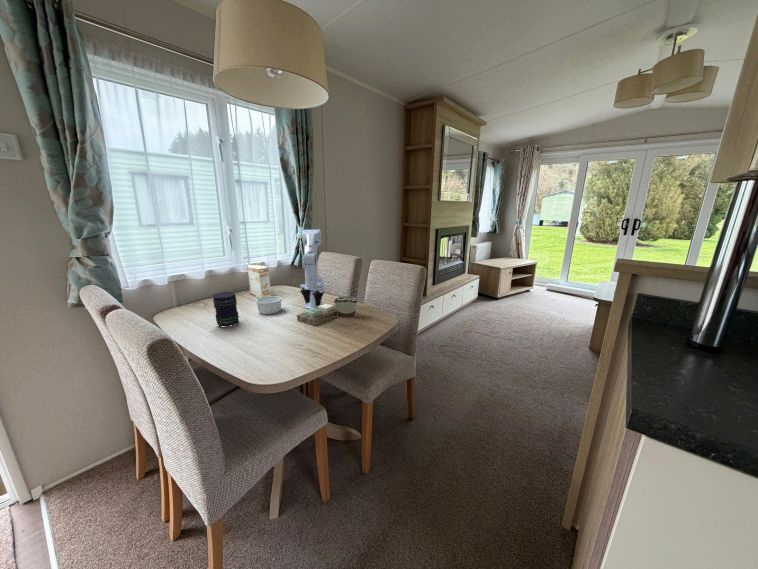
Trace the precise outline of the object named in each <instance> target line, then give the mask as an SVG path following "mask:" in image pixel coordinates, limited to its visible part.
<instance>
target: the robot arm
mask: <svg viewBox="0 0 758 569" xmlns="http://www.w3.org/2000/svg"><path fill="white" fill-rule="evenodd" d="M301 232H302V233H301V234H302V240H303V244H304V246H305V247H304V254H302V262H303V263H302V264H303V269H304V279H305V280H304V283H305V284H300V286H299V287H300V290H299V291H300V293H301V294H302V297H303V299H304V307H303V308H306V309H308V310H309V309H312V308H318V306H320V305H323V302H322V301H323V299H322V298H323V296H324V294H325V291H324V289H325V288H324V279H323V277H322V276H320V275H319V273H318V272H319V268H318V247H319V246H321V244H322V231H321V229H320V228H318V229H302V231H301Z"/></svg>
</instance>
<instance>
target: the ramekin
mask: <svg viewBox="0 0 758 569" xmlns="http://www.w3.org/2000/svg"><path fill="white" fill-rule="evenodd" d="M282 302H283V301H282V297H281V296H279V295H277V296H276V295H271V296H266V297H261V298H257V299H256V300H255V303H256V306H257V310H258V313H260V314H261V313H262V315H273V314H272V313H274V314H277V313H279V312H280V311H281V310H282ZM276 312H277V313H276Z"/></svg>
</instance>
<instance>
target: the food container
mask: <svg viewBox="0 0 758 569" xmlns="http://www.w3.org/2000/svg"><path fill="white" fill-rule="evenodd" d="M333 303H335V305H334V306H335V307H336V312H337V316H336V318H341V319H342V318H344V319H356V313H357V312H356V311H357V304H358V299H357V298H356V297H355V296H349V295H344V296H339V297H336V298H334V300H333Z"/></svg>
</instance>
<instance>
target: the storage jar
mask: <svg viewBox="0 0 758 569" xmlns="http://www.w3.org/2000/svg"><path fill="white" fill-rule="evenodd" d="M236 297H237V296H236V293H235V292H234V291H225V292H218V293H214V294H213V295H212V298H213V307H214V308H215V309H214V310H215V321H216V323H217V324H218V325H219V326H230V325H234V324H236V323H238V322H239V323H240V320H239V312H238V308H237V304H238V302H237V298H236ZM239 323H238V324H239ZM217 324H216V325H217ZM234 326H235V325H234Z"/></svg>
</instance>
